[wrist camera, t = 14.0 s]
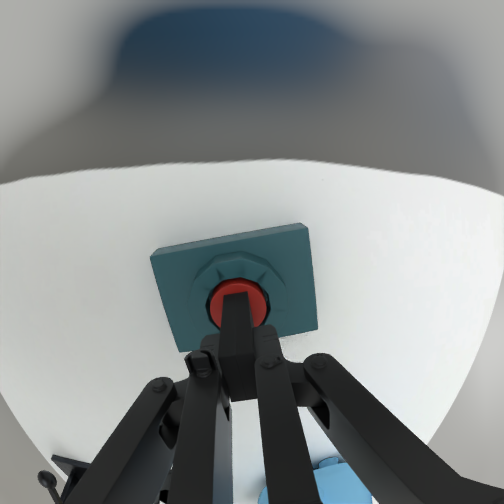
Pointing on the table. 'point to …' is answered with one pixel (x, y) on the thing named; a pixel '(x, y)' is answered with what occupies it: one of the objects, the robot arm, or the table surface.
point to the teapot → (335, 485)
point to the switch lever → (49, 484)
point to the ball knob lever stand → (70, 473)
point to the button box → (233, 266)
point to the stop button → (235, 287)
